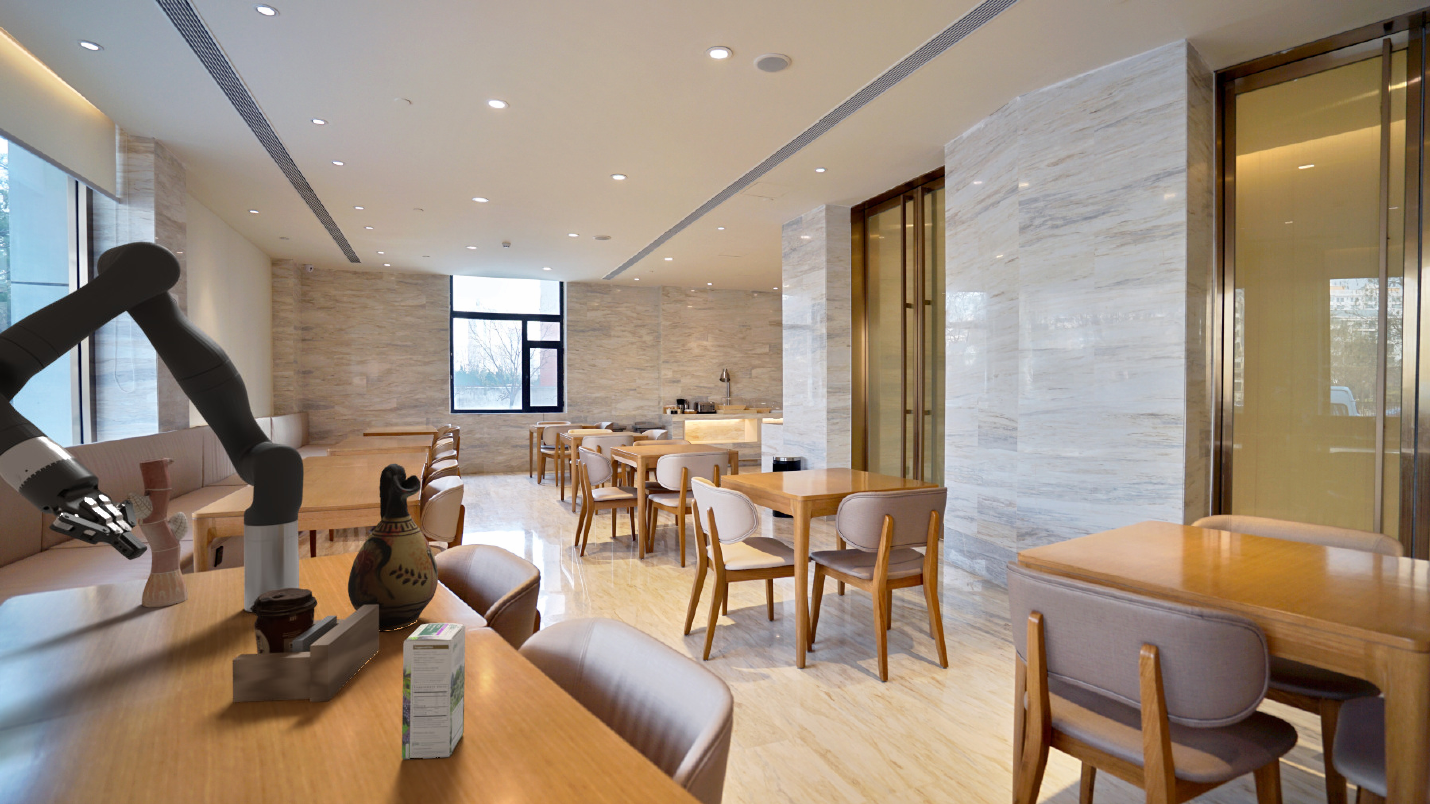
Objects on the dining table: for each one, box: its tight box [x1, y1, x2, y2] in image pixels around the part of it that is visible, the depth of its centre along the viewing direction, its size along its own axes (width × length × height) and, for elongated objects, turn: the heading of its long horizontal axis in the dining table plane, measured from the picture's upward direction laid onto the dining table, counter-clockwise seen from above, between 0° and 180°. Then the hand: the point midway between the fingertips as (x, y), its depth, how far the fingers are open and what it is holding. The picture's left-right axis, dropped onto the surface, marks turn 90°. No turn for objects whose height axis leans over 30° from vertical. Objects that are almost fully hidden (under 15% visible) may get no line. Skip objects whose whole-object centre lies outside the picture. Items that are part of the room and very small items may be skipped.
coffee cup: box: [250, 587, 318, 654], centre depth 101 cm, size 9×8×13 cm
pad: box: [292, 614, 338, 652], centre depth 102 cm, size 1×11×7 cm, turn 6°
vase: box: [125, 457, 189, 608], centre depth 136 cm, size 11×7×30 cm
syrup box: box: [401, 622, 466, 760], centre depth 82 cm, size 6×6×14 cm
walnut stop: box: [232, 604, 380, 703], centre depth 102 cm, size 13×18×8 cm
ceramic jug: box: [347, 463, 439, 630], centre depth 126 cm, size 17×15×30 cm
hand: (139, 554), depth 99 cm, fingers closed
